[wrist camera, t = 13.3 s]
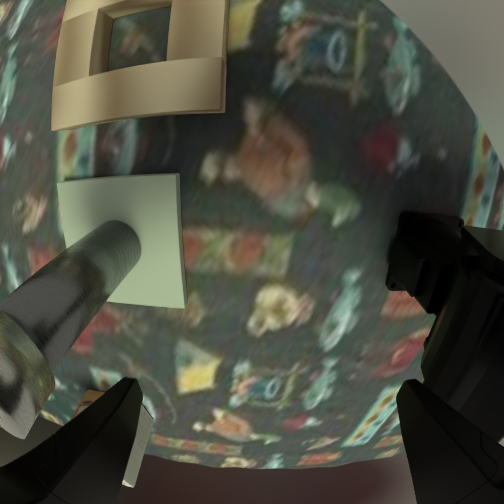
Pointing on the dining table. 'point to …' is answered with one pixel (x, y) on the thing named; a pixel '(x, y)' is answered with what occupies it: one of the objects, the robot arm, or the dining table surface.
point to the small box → (140, 439)
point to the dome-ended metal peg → (56, 317)
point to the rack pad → (142, 222)
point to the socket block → (142, 76)
